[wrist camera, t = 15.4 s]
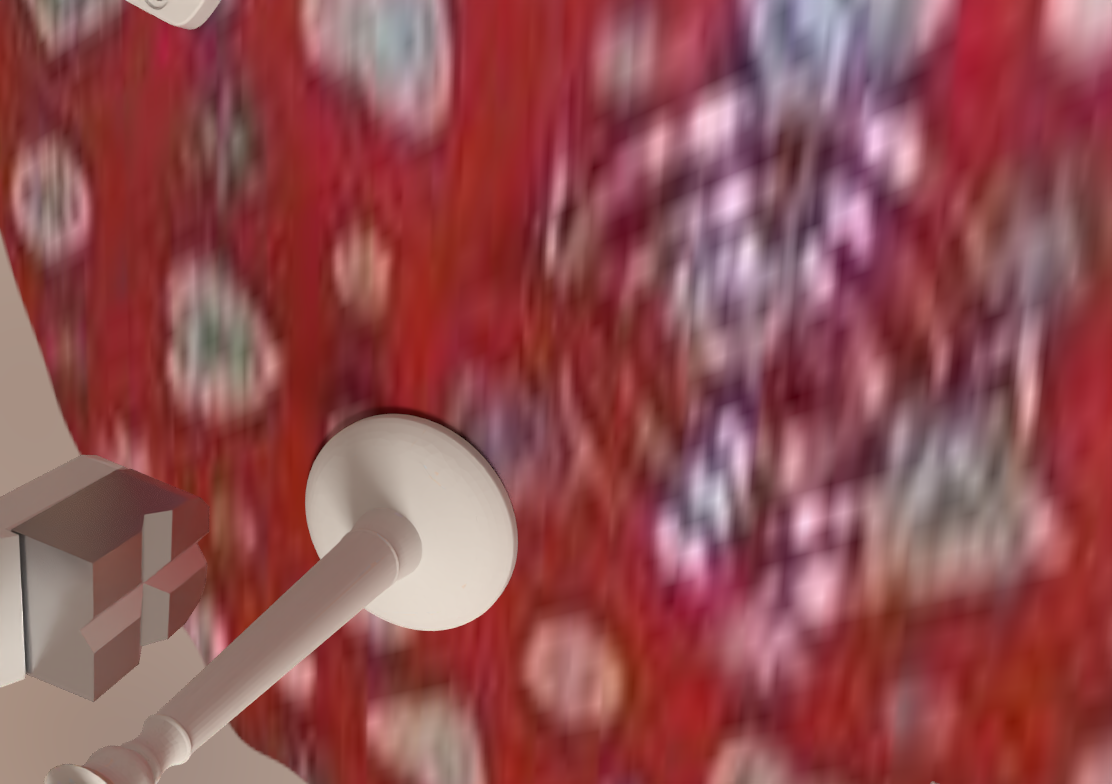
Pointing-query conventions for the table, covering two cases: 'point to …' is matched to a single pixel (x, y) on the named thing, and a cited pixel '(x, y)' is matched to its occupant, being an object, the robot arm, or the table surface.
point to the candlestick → (347, 577)
